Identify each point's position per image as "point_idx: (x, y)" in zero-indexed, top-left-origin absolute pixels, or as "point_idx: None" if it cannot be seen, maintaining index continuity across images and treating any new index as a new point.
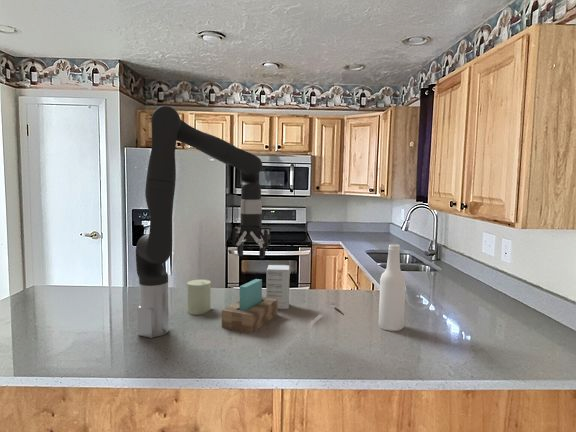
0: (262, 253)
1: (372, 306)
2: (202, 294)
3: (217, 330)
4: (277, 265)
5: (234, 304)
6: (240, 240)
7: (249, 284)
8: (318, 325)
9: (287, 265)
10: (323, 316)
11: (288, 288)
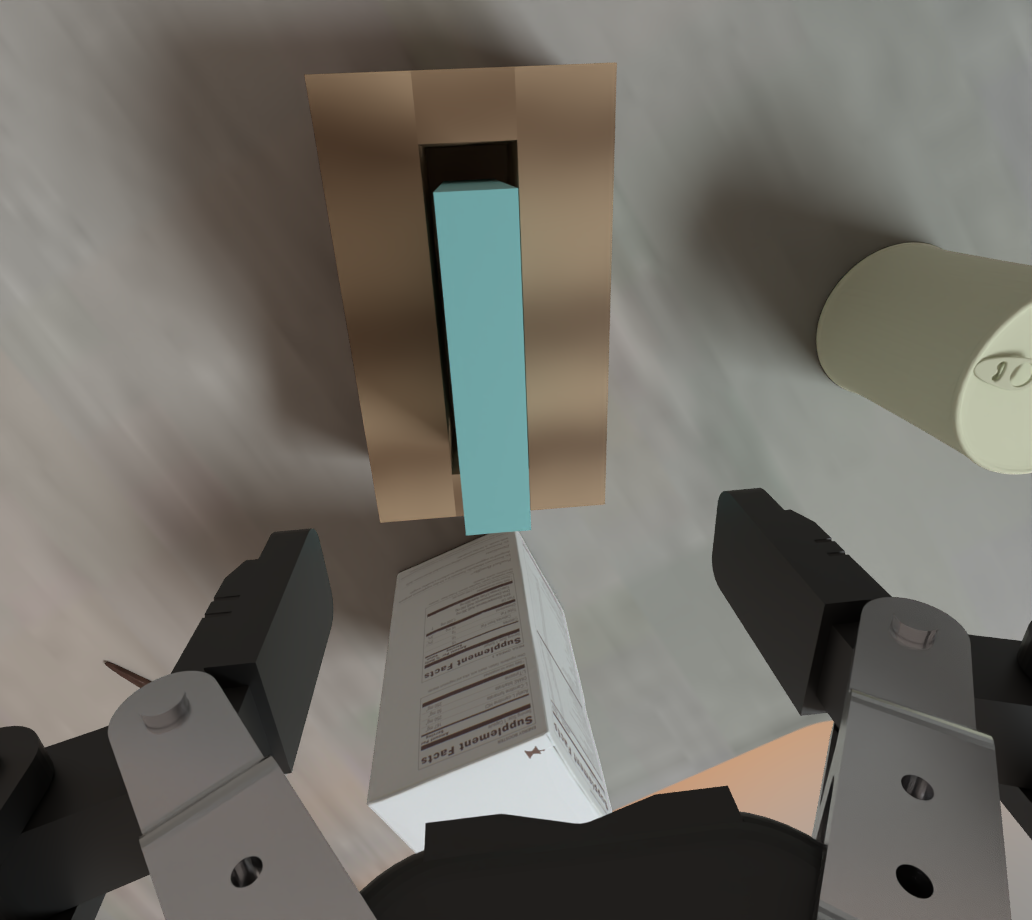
0: (234, 602)
1: None
2: (937, 309)
3: (602, 55)
4: None
5: (595, 258)
6: (909, 710)
7: (467, 318)
8: (111, 469)
9: None
10: (183, 597)
11: (384, 674)
